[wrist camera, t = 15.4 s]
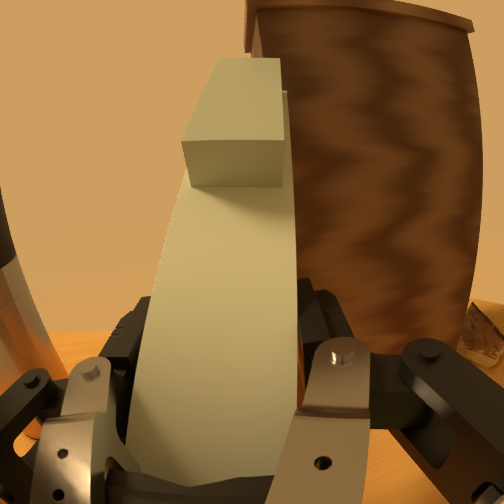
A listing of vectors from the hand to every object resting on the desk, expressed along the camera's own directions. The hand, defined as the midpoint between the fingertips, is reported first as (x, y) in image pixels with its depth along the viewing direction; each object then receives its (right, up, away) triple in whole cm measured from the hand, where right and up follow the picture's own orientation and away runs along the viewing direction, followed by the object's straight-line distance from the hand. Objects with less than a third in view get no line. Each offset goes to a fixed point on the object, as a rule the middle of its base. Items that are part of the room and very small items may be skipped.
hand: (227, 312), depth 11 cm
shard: (+26, -9, +18) cm, 33 cm away
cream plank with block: (0, +2, 0) cm, 2 cm away
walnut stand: (+13, -9, +19) cm, 25 cm away
